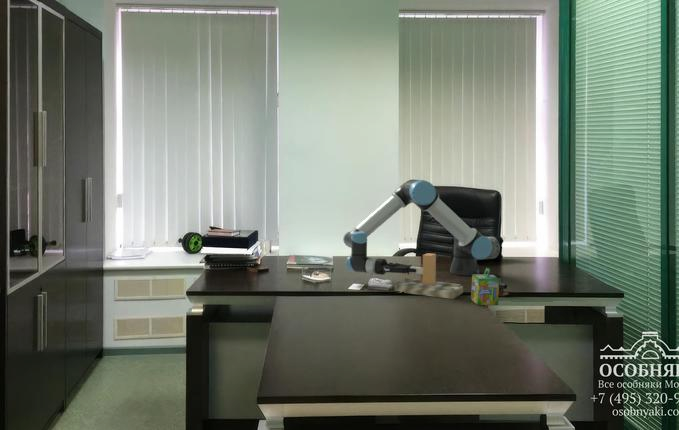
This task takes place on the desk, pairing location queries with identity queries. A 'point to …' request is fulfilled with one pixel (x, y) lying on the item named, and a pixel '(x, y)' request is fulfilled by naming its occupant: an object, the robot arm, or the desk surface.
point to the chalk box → (485, 289)
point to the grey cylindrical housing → (496, 248)
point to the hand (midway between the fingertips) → (423, 270)
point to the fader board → (429, 288)
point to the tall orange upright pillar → (429, 269)
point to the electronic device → (501, 287)
